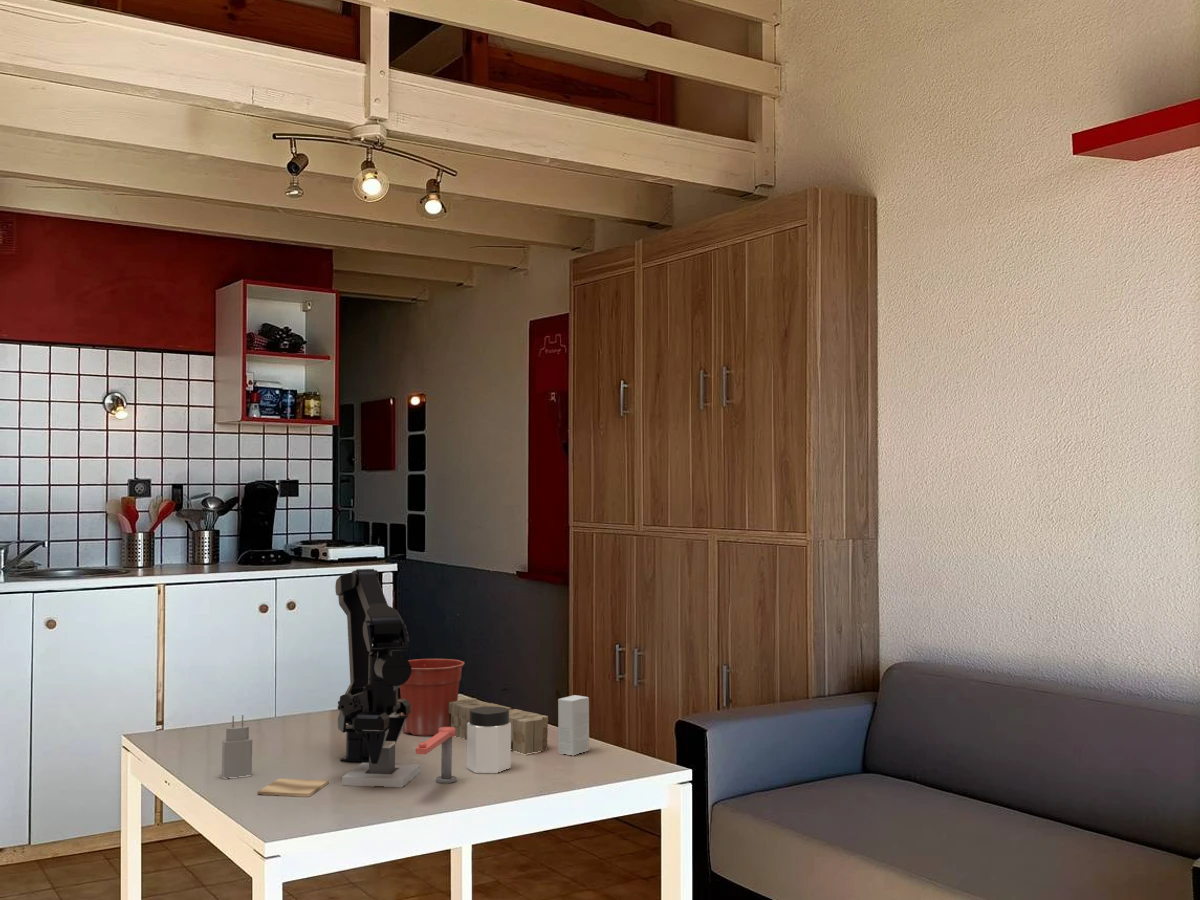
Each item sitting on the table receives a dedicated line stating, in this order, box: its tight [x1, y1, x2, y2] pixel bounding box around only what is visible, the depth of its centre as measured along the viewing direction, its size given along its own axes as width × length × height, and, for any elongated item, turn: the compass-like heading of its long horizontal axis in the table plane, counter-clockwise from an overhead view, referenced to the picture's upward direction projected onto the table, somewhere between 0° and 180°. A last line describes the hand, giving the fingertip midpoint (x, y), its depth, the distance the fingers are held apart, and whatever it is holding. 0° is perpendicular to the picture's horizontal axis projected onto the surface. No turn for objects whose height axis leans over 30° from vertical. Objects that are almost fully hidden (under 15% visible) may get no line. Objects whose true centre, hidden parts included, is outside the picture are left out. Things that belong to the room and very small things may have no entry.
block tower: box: [448, 697, 549, 754], centre depth 257 cm, size 8×8×29 cm
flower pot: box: [399, 658, 465, 737], centre depth 269 cm, size 16×16×16 cm
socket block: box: [341, 737, 458, 788], centre depth 222 cm, size 12×21×9 cm, turn 83°
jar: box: [466, 706, 512, 774], centre depth 231 cm, size 9×8×12 cm
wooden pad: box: [256, 778, 329, 798], centre depth 214 cm, size 10×10×1 cm
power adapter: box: [221, 714, 253, 778], centre depth 224 cm, size 3×5×12 cm, turn 122°
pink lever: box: [415, 727, 455, 755], centre depth 214 cm, size 18×3×2 cm, turn 171°
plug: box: [368, 741, 396, 774], centre depth 223 cm, size 4×4×7 cm
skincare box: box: [557, 694, 590, 755], centre depth 246 cm, size 6×4×12 cm
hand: (382, 758), depth 223 cm, fingers open, 9 cm apart
